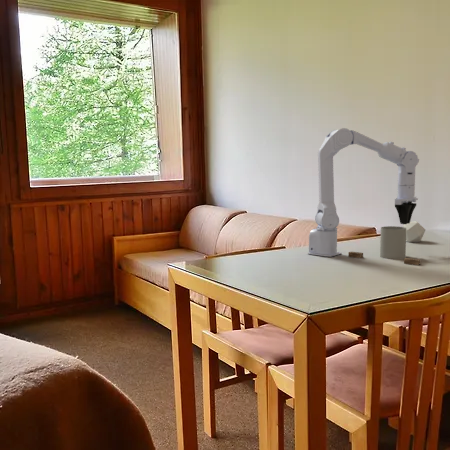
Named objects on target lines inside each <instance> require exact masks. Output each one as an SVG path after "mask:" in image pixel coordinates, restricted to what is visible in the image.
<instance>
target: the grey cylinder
mask: <svg viewBox="0 0 450 450" xmlns="http://www.w3.org/2000/svg"><path fill="white" fill-rule="evenodd" d="M379 239H380V242H379V243H380V245H379V248H380V249H379V250H380V251H379V257H380V258H382V259H388V260H389V259H390V260H402V259H403V260H404V259H405V258H406V253H407V252H406V251H407V250H406V249H407V248H406V247H407V240H406V228H405V227H403V226H392V225H391V226H389V225H388V226H387V225H386V226H381V227H380V238H379Z"/></svg>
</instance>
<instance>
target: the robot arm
mask: <svg viewBox="0 0 450 450" xmlns="http://www.w3.org/2000/svg"><path fill="white" fill-rule="evenodd" d="M350 145H353V146H354V145H358V146H361V147H363V148H366V149H368V150H371V151H374V152H376V153H377V154H378V156H379V158H380V159H381V158H382V159H384V160H386V161H388V162H390V163H393V164H394V165H395V164H396V166H397V169H398V170H397V194H396V195H397V197H396V198H394V208H395V209H396V211H397V214H398V219H399V224H401V225H404V224H407V223H408V224H409V223H410V222H411V219H412V217H413V216H412V215H413V213H414V210H415V209H416V207H417V203H416V202H417V201H418V199H419V197H417V196H415V193H416V192H415V189H416V166H417V165H418V164H419V162H420V159H419V157H418V154H417V153H416V152H414V151H413V150H407V148H406V147H405V146H404V147H403V146H402V147H401V146H398V145H395V144H394V142H393V141H389V142H388V141H384V142H379V141H377V140H375V139H373V138H370V137H369V136H366V135H365V134H362V133H360V132H359V131H358V132H357V131H356V130H350V129H348V128H345V127H342V128H339V129H333V130H331V131H330V132H329V133H328V134H327V135H325V137H324V140H323V141H322V144H321V145H320V147H319V149H318V152H317V162H318V164H317V165H318V167H317V168H318V169H317V170H318V171H317V172H318V198H319V199H318V202H319V203H318V205H317V210H316V214H315V217H314V219H315V220H314V221H315V223H316V225H317V226H316V228H313V229H311V230H310V232H309V234H308V252H307V255H313V256H321V257H330V258H332V257H335V256H339V255H341V254H342V252H341V251H338V228H337V227H338V226H339V224H340V217H339V216H338V214H337V206H336V205H335V186H334V182H335V181H334V157H335V156H336V155H337V154H338V153H339V152H340V151H342V150H343V149H344V148H348V146H350Z"/></svg>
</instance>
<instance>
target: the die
mask: <svg viewBox="0 0 450 450" xmlns="http://www.w3.org/2000/svg"><path fill="white" fill-rule="evenodd" d="M402 227H405V228H406V242H407V243H420V242H422V239H423V237H424V236H425V235H424V234H425V232H426V229H425V227H424V226H422V225H421V224H420V223H419V221H416V220H415V221H410V223H409V224H408V223H407V224H402Z"/></svg>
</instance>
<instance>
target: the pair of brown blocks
mask: <svg viewBox="0 0 450 450" xmlns="http://www.w3.org/2000/svg"><path fill="white" fill-rule="evenodd" d="M348 257H349V258H357V259H362V258H364V252H359V251H358V252H357V251H349V252H348ZM403 264H406V265H412V264H413V265H412V266H419V264H420V265H421V259H418V258H410V257H409V258H408V257H405V258H403Z"/></svg>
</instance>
